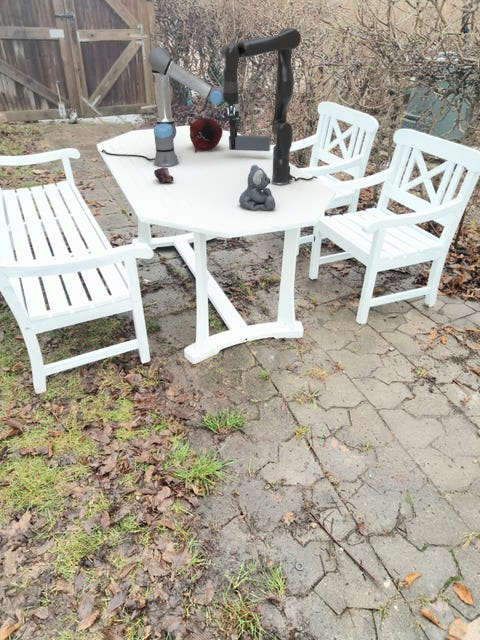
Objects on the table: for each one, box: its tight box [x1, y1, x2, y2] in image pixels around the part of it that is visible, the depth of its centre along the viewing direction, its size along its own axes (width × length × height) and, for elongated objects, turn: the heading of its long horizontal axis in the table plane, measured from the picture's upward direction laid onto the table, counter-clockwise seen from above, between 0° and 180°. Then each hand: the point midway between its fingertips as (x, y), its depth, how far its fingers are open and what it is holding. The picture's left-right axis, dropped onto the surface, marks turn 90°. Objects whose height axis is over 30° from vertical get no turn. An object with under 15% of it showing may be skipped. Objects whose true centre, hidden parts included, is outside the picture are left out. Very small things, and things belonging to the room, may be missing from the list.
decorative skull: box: [187, 117, 224, 153], centre depth 321 cm, size 21×24×25 cm
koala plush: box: [238, 164, 276, 211], centre depth 224 cm, size 17×18×20 cm
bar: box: [228, 134, 271, 152], centre depth 299 cm, size 27×4×9 cm, turn 78°
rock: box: [153, 167, 175, 184], centre depth 260 cm, size 12×9×10 cm
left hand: (234, 148), depth 302 cm, fingers closed on bar, 4 cm apart
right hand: (231, 125), depth 233 cm, fingers open, 8 cm apart
